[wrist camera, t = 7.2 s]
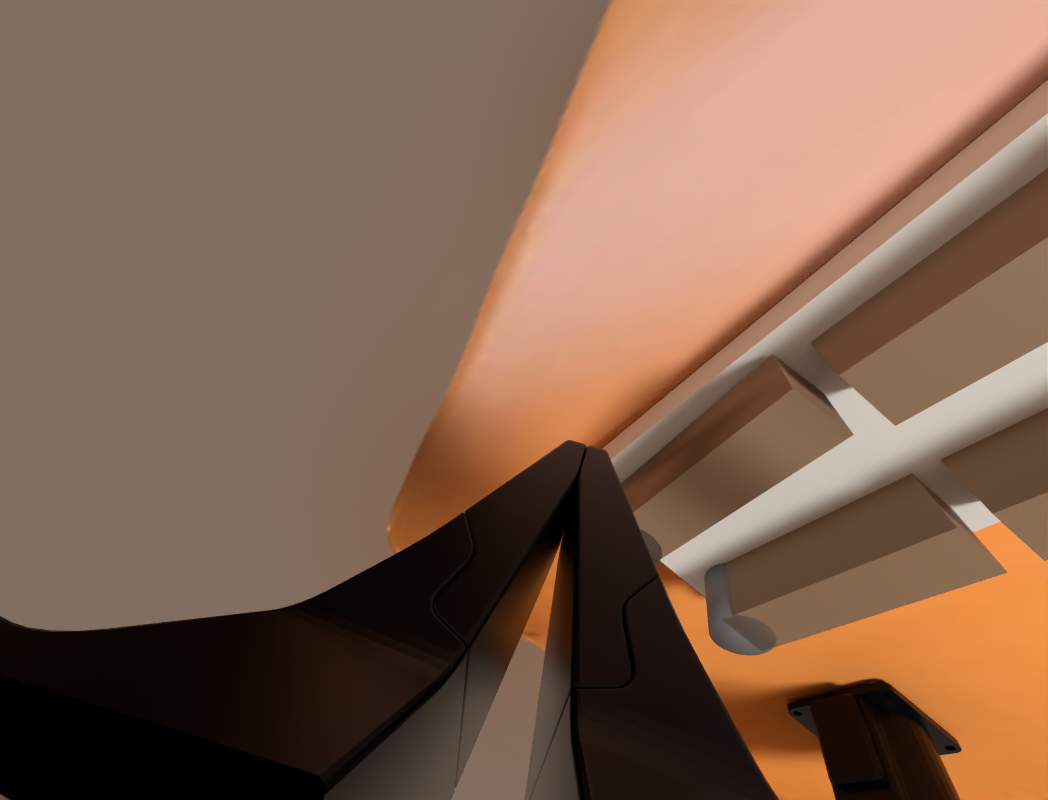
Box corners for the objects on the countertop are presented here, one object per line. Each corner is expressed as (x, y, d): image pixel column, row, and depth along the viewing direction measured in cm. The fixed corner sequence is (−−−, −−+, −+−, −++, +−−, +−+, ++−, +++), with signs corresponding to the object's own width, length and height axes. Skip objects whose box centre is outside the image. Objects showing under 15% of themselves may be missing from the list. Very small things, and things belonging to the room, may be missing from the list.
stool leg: (637, 533, 21) (633, 580, 19) (594, 502, 21) (585, 546, 19) (826, 395, 15) (857, 437, 13) (769, 351, 15) (788, 385, 13)
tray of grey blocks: (1454, 279, 11) (1917, 339, 7) (730, 591, 24) (744, 677, 20) (1178, -28, 10) (1520, -167, 6) (579, 467, 23) (560, 530, 19)
